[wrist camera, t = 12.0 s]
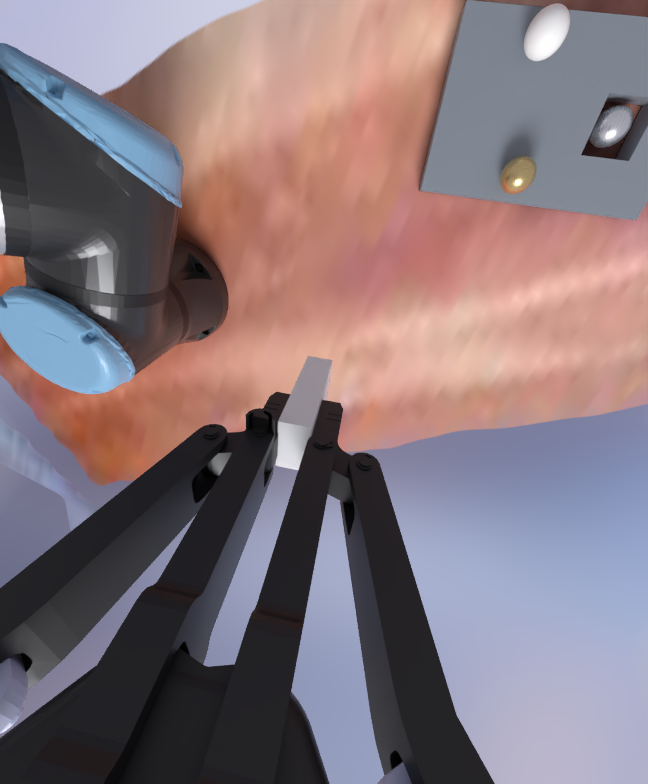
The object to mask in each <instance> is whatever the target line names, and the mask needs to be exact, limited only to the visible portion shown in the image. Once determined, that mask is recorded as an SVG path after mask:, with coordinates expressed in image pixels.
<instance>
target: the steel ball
mask: <svg viewBox="0 0 648 784" xmlns="http://www.w3.org/2000/svg"><path fill="white" fill-rule="evenodd" d="M632 123H633V112H632V110H631V109H630V108H629V107H627V106H624V105H617V106H613V107H611V108H609V109H607V110H605V111H604V112H603V113H601V114H600V115H599V117H598V119H597V121H596V123H595V125H594V128H593V130H592V132H591V134H590V136H589V141H590V143H591V144H592V145H593V146H594V147H597V148H606V147H610V146H612V145H614V144H616V143H617V142H619V141H620V140H621V139H622V138H623V137H624V136H625V135H626V134H627V133H628V131H629V130H630V128H631V126H632Z"/></svg>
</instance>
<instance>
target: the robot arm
mask: <svg viewBox="0 0 648 784" xmlns="http://www.w3.org/2000/svg"><path fill="white" fill-rule="evenodd" d="M182 176H183V162H182V158H181V156H180V153H179V151H178V150H177V148H176V147H175V145H174V144H173V143H172V142H171V141H170V140H169V139H168V138H167V137H165V136H164V135H163V134H161V133H160V132H158V131H157V130H155V129H154V128H152V127H151V126H149V125H148V124H146V123H144V122H143V121H141V120H140V119H138V118H136V117H135V116H133V115H132V114H130V113H128V112H127V111H125V110H123V109H122V108H120V107H118V106H117V105H115V104H113V103H112V102H110V101H108V100H107V99H105V98H103V97H102V96H100V95H98V94H97V93H95V92H93V91H92V90H90V89H88V88H86V87H85V86H83V85H81V84H80V83H78V82H76V81H74V80H73V79H71V78H69V77H67V76H65V75H64V74H62V73H60V72H58V71H57V70H55V69H53V68H52V67H50V66H48V65H46V64H44V63H42V62H40V61H38V60H36V59H34V58H32V57H31V56H28V55H26V54H25V53H23V52H21V51H20V50H18V49H17V48H15V47H12V46H10V45H8V44H5V43H0V255H9V256H19V257H24V265H25V274H26V285H25V286H16V287H11V288H9V289H8V291H7V292H6V293H4V295H2V296H0V332H1V334H2V336H3V337H4V339H5V340H6V342H7V343H8V344H9V346H10V347H11V348H12V350H13V351H14V352H15V353H16V354H17V355H18V356H19V357H20V358H21V359H22V360H23V361H24V362H26V363H27V364H28V365H29V366H30V367H31V368H32V369H33V370H35V371H36V372H37V373H39V374H40V375H42V376H43V377H45V378H46V379H48V380H50V381H51V382H53V383H55V384H57V385H59V386H62V387H64V388H66V389H69V390H72V391H75V392H79V393H85V394H100V393H104V392H108V391H110V390H112V389H114V388H116V387H118V386H119V385H121V384H123V383H125V382H128V381H130V380H131V379H132V378H134V377H133V376H135V375H136V374H137V373H138V372H140V371H141V370H142V369H144V368H145V367H147V366H148V365H149V364H151V363H152V362H153V361H155V360H156V359H158V358H159V357H160V356H162V355H163V354H164V353H166V352H167V351H169V350H170V349H171V348H173V347H174V346H175V345H177V344H182V343H188V342H195V341H199V340H202V339H204V338H206V337H208V336H210V335H211V334H212V333H213V332H215V331H216V330H217V329H218V328H219V327H220V326H221V325H222V323H223V322H224V320H225V317H226V314H227V310H228V294H227V289H226V285H225V282H224V280H223V277H222V275H221V273H220V272H219V270H218V268H217V267H216V265H215V264H214V263H213V262H212V260H211V259H210V258H209V257H208V256H207V255H206V254H205V253H204V252H202V251H201V250H200V249H199V248H197V247H196V246H194V245H192V244H190V243H188V242H186V241H183V240H180V239H176V232H177V225H178V218H179V211H180V208H182V201H181V188H182ZM331 366H332V360H327V359H321V358H316V357H310V356H308V358H307V360H306V362H305V364H304V366H303V369H302V371H301V373H300V375H299V377H298V379H297V381H296V384H295V386H294V388H293V390H292V392H291V394H285V393H280V392H276V393H274V394H273V395H271V396H270V397H269V399H268V401H267V403H266V404H265V406H264V408H263V409H260V408H259V409H253V410H251V411H249V412H248V413H247V414H246V430H245V431H243V432H234V433H227V430H226V428H225V427H223V426H221V425H217V424H210V425H206V426H203V427H202V428H200V429H198V430H197V431H196V432H195V433H193V434H192V435H191V436H190V437H189V438H187V439H186V440H185V441H184V442H182V443H181V444H180V445H179V446H177V447H176V448H175V449H174V450H172V451H171V452H170V453H169V454H167V455H166V456H165V457H164V458H162V459H161V460H160V461H159V462H157V463H156V464H155V465H154V466H152V467H151V468H150V469H149V470H147V471H146V472H145V473H144V474H142V475H141V476H140V477H139V478H137V479H136V480H135V481H134V482H133V483H131V484H130V485H129V486H127V487H126V488H125V489H124V490H122V491H121V492H120V493H119V494H118V495H116V496H115V497H114V498H113V499H111V500H110V501H109V502H108V503H106V504H105V505H104V506H103V507H101V508H100V509H99V510H97V511H96V512H95V513H94V514H92V515H91V516H90V517H89V518H87V519H86V520H85V521H84V522H82V523H81V524H80V525H79V526H77V527H76V528H75V529H74V530H72V531H71V532H70V533H69V534H68V535H66V536H65V537H64V538H63V539H61V540H60V541H59V542H58V543H56V544H55V545H54V546H53V547H51V548H50V549H49V550H48V551H46V552H45V553H44V554H43V555H41V556H40V557H39V558H38V559H37V560H35V561H34V562H33V563H31V564H30V565H29V566H28V567H26V568H25V569H24V570H23V571H22V572H20V573H19V574H18V575H16V576H15V577H14V578H13V579H11V580H10V581H9V582H8V583H6V584H5V585H4V586H3V587H2V588H0V733H2V732H5V731H6V730H7V729H9V728H10V727H11V726H12V725H13V724H14V723H15V722H16V720H17V719H18V718H19V717H20V714H21V712H22V710H23V703H24V701H25V699H26V696H27V692H28V690H29V689H30V688H31V687H33V686H34V685H35V684H37V683H38V682H39V681H40V680H41V679H42V678H44V677H45V676H46V675H47V674H48V673H49V672H50V671H51V670H52V669H54V668H55V667H56V666H57V665H58V664H59V663H60V662H61V661H62V660H63V659H64V658H65V657H66V656H67V655H68V654H69V653H70V652H71V651H72V650H73V649H74V648H75V647H76V646H77V645H78V644H79V643H80V642H81V641H82V640H83V638H84V637H85V636H86V635H87V634H88V633H89V632H90V631H91V630H92V628H93V627H94V626H95V625H96V624H97V623H98V622H99V621H100V620H101V618H102V617H103V616H104V615H105V614H106V613H107V612H108V611H109V609H111V608H112V606H113V605H114V604H115V603H116V602H117V601H118V600H119V599H120V598H121V597H122V595H123V594H124V593H125V592H126V591H127V590H128V589H129V587H131V586H132V584H133V583H134V582H135V581H136V580H137V579H138V578H139V577H140V576H141V575H142V573H143V572H144V571H145V570H146V569H147V568H148V567H149V566H150V565H151V563H152V562H153V561H154V560H155V559H156V558H157V557H158V556H159V555H160V554H161V552H162V551H163V550H164V549H165V548H166V547H167V546H168V545H169V544H170V543H171V541H172V540H173V539H174V538H175V537H176V536H177V535H178V534H179V533H180V531H181V530H182V529H183V528H184V527H185V526H186V525H187V524H188V523H189V521H191V519H192V518H193V517H194V516H195V515H196V514H197V515H196V516H195V518H194V520H193V522H192V523H191V525H190V527H189V529H188V530H187V532H186V534H185V535H184V537H183V539H182V541H181V542H180V544H179V546H178V548H177V549H176V551H175V553H174V554H173V556H172V558H171V560H170V561H169V563H168V565H167V566H166V568H165V570H164V572H163V573H162V575H161V577H160V578H159V580H158V582H157V583H156V584H154V585H153V586H150V587H147V588H146V589H145V590H144V591H143V592H142V593H141V595H140V596H139V598H138V599H137V600H136V602H135V604H134V605H133V607H132V609H131V610H130V612H129V614H128V615H127V617H126V619H125V620H124V622H123V623H122V625H121V627H120V629H119V630H118V632H117V634H116V635H115V637H114V638H113V640H112V642H111V644H110V645H109V647H108V648H107V650H106V652H105V653H104V655H103V657H102V658H101V660H100V661H99V663H98V665H97V666H95V667H94V668H93V669H91V670H90V671H88V672H87V673H86V674H84V675H83V676H82V677H81V678H79V679H78V680H77V681H75V682H74V683H73V684H71V685H70V686H69V687H67V688H66V689H65V690H63V691H62V692H61V693H59V694H58V695H57V696H55V697H54V698H53V699H52V700H50V701H49V702H47V703H46V704H45V705H43V706H42V707H41V708H40V709H38V710H37V711H36V712H34V713H33V714H32V715H30V716H29V717H28V718H26V719H25V720H24V721H22V722H21V723H20V724H18V725H17V726H16V727H14V728H13V729H12V730H10V731H9V732H8V733H6V734H5V735H4V736H2V737H1V738H0V784H329V781H328V778H327V775H326V772H325V768H324V765H323V762H322V759H321V756H320V753H319V750H318V747H317V744H316V740H315V737H314V734H313V731H312V728H311V725H310V722H309V720H308V718H307V716H306V713H305V711H304V710H303V708H302V706H301V704H300V703H299V701H298V700H297V698H296V697H295V696H294V695H293V694H292V692H291V688H292V682H293V678H294V672H295V667H296V661H297V656H298V651H299V645H300V640H301V634H302V628H303V624H304V618H305V613H306V606H307V601H308V596H309V591H310V586H311V580H312V574H313V570H314V564H315V558H316V553H317V548H318V542H319V537H320V531H321V526H322V521H323V515H324V510H325V505H326V499H327V494H329V495H331V496H333V497H335V498H337V499H339V500H340V504H341V511H342V518H343V525H344V532H345V539H346V546H347V553H348V560H349V567H350V574H351V581H352V587H353V595H354V602H355V608H356V616H357V622H358V629H359V636H360V643H361V650H362V657H363V664H364V671H365V678H366V685H367V692H368V699H369V706H370V712H371V719H372V724H373V729H374V735H375V740H376V745H377V749H378V753H379V757H380V760H381V764H382V768H383V771H384V775H385V776H384V777H383V778H382V779H381V780H380V781H379V782H378V784H494V782H493V780H492V778H491V776H490V775H489V773H488V771H487V769H486V767H485V766H484V764H483V762H482V760H481V759H480V757H479V755H478V753H477V751H476V749H475V748H474V746H473V744H472V743H471V741H470V739H469V737H468V735H467V733H466V731H465V730H464V728H463V726H462V724H461V723H460V721H459V719H458V717H457V715H456V712H455V709H454V706H453V702H452V699H451V696H450V693H449V689H448V686H447V683H446V679H445V676H444V673H443V670H442V666H441V663H440V660H439V656H438V653H437V650H436V647H435V644H434V640H433V637H432V634H431V630H430V627H429V624H428V621H427V617H426V614H425V611H424V608H423V604H422V601H421V598H420V594H419V591H418V588H417V585H416V581H415V578H414V575H413V572H412V568H411V565H410V562H409V558H408V555H407V552H406V549H405V545H404V542H403V539H402V535H401V532H400V529H399V526H398V522H397V519H396V516H395V512H394V509H393V506H392V503H391V499H390V496H389V493H388V490H387V486H386V483H385V480H384V476H383V473H382V470H381V467H380V464H379V462H378V460H377V459H376V458H375V457H374V456H372V455H370V454H368V453H356V454H354V455H352V456H351V455H349V454H347V453H345V452H344V451H343V450H342V449H341V448H340V447H339V445H338V434H339V429H340V423H341V418H342V412H343V408H342V406H341V404H340V403H336V402H331V401H326V399H327V393H328V386H329V380H330V373H331ZM275 461H276V466H280V467H285V468H290V469H295V470H298V473H297V476H296V480H295V483H294V486H293V490H292V493H291V496H290V499H289V502H288V506H287V509H286V512H285V516H284V519H283V522H282V525H281V528H280V531H279V535H278V538H277V541H276V544H275V548H274V551H273V554H272V558H271V561H270V564H269V567H268V570H267V574H266V577H265V580H264V583H263V586H262V590H261V593H260V596H259V600H258V603H257V605H256V608H255V609H254V611H253V612H252V614H251V617H250V619H249V622H248V625H247V628H246V631H245V634H244V637H243V640H242V644H241V647H240V650H239V653H238V656H237V659H236V662H235V665H224V666H213V667H207V666H204V665H203V663H204V660H205V657H206V654H207V650H208V645H209V640H210V636H211V632H212V629H213V627H214V624H215V622H216V619H217V616H218V614H219V611H220V609H221V606H222V603H223V601H224V598H225V596H226V593H227V590H228V588H229V586H230V583H231V580H232V578H233V575H234V573H235V570H236V568H237V565H238V562H239V560H240V557H241V555H242V552H243V550H244V547H245V545H246V542H247V539H248V537H249V534H250V532H251V529H252V526H253V524H254V521H255V519H256V516H257V514H258V511H259V508H260V506H261V503H262V501H263V498H264V495H265V493H266V491H267V488H268V485H269V483H270V480H271V478H272V475H273V466H274V463H275Z"/></svg>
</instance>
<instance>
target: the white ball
mask: <svg viewBox="0 0 648 784" xmlns="http://www.w3.org/2000/svg"><path fill="white" fill-rule="evenodd" d="M569 26H570V14H569V11H568V9H567V8H566V6H564V5H563V4H559V3H555V4H551V5H549V6H547V7H545V8H544V9H542V10H541V11H540V12H539V13H538V14H537V15H536V16H535V17H534V19H533V20H532V21H531V23H530V25H529V27H528V29H527V31H526V34H525V38H524V51H525V54H526V56H527V57H528V58H529V59H530V60H532V61H541V60H544V59H546V58H548V57H550V56H551V55H552V54H554V53H555V52H556V51H557V50H558V48H559V47H560V46H561V44H562V43H563V41H564V40H565V38H566V35H567V33H568V30H569Z"/></svg>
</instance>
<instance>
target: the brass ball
mask: <svg viewBox="0 0 648 784" xmlns="http://www.w3.org/2000/svg"><path fill="white" fill-rule="evenodd" d="M536 173H537V166H536V163H535V161H534V160H533V159H532V158H531V157H529V156H518V157H516V158H514V159H512V160H511V161H509V162H508V163H507V164H506V166H505V167H504V168H503V170H502V172H501V175H500V186H501V188H502V190H503V191H504V192H506V193H508V194H517V193H520V192H522V191H524V190H525V189H527V188H528V187H529V186H530V185H531V183H532V182H533V180H534V179H535V176H536Z"/></svg>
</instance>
